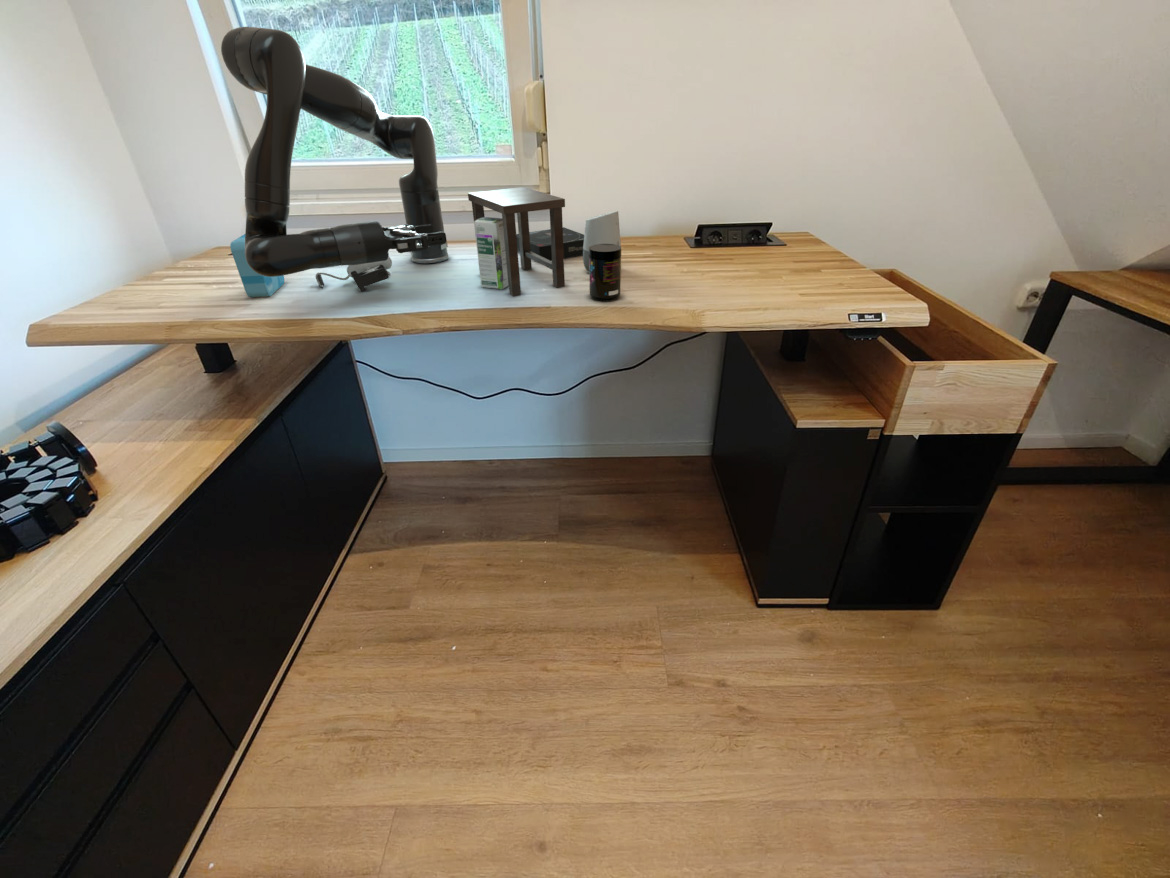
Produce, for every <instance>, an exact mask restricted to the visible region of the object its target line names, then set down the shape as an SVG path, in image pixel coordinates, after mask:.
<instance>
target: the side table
mask: <svg viewBox="0 0 1170 878" xmlns="http://www.w3.org/2000/svg"><path fill="white" fill-rule="evenodd" d="M467 199H468V202H471V208H472V209H471V210H472V215H473V216H472V217H473V222H474V221H476V220H477V219H480V218H483V217H486V216H485V208H486V209H490V210H492V211H495V212H496V213H499V214H501V218H502V220H503V231H504V242H505V253H506V264H507V275H508V286H507V287H508V294H509V295H510V296H511V297H518V296H522V290H521V289H522V288H521V287H522V286H521V276H520V275H521V274H520V269H521V270H524V271H528V270H529V271H530V270H532V269H533V267H532V265H533V264H532V261H533V262H536V263H537V264H540V265H542V266H544V267H546V268H549V269H550V270H552V272H551V273H552V286H553V287H554V288H557V289H559V288H564V287H565V286H566V283H565V280H566V279H565V259H564V250H563V227H564V226H563V208H565V207H566V199H565V198H563V197H560V196H556V195H552V194H550V193H545V192H542V191H539V190H536V189H533V188H532V189H531V188H528V187H524V186H520V187H511V188H502V189H501V188H500V189H493V190H484V191H483V190H482V191H472V192H467ZM543 210H549V225H550V226H549V228H550V230H551V251H552V261H550V260H548V259H546V258H544V257H542V256H540V255H537V254H535V253H533V252H531V250H530V235H529V232H530V222H529V220H530V219H529V212H536V211H543ZM515 214H516V215H515ZM516 217H517V226H516ZM517 230H518V232H517ZM517 233H518V234H519V245H520V253H519V252H518V249H517V237H516V234H517ZM519 256H520V257H519ZM519 258H520V261H519ZM519 262H520V265H519Z"/></svg>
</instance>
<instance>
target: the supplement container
mask: <svg viewBox="0 0 1170 878" xmlns="http://www.w3.org/2000/svg"><path fill="white" fill-rule="evenodd" d="M588 275H589V276H588V279H589V280H588V281H589V282H588V283H589V297H590V298H591V299H592V300H594V301H598V302H613V301H616V300H618V299H619V298H620V297H621V283H622V281H621V279H622V245H621V246H619V245H615V244H596V245H592V246H590V247H589V272H588Z"/></svg>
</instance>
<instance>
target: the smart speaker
mask: <svg viewBox="0 0 1170 878" xmlns="http://www.w3.org/2000/svg"><path fill="white" fill-rule="evenodd" d="M620 231H621V229H620V215H619V210H614V211H609V212H607V213H603V214H600V215H596V216H593V217H590V218H587V219H585V224H584V244H583V256H582V262H583V266H584V268H585V270H586V271H587V272H588V273H589V247H590V246H592V245H596V244H615V245H619V246H621V247H622V244H621V232H620Z"/></svg>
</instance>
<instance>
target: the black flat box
mask: <svg viewBox="0 0 1170 878" xmlns="http://www.w3.org/2000/svg"><path fill="white" fill-rule="evenodd" d="M584 234H585V233H584ZM584 234H583V233H580V232H578V231H575V230H573V229H570V228H567V227H565V226H563V250H564V260H565V259H570V258H571V259H572V258H576V257H583V244H584ZM529 235H530V250H531V252H533V253H535V254H537V255H540V256H542V257H544V258H546V259H548V260H550V261H552V251H551V230H550V229H543V230H537V231H536V230H535V231H529ZM516 237H517V249H518V254H520V245H519V233H516Z"/></svg>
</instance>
